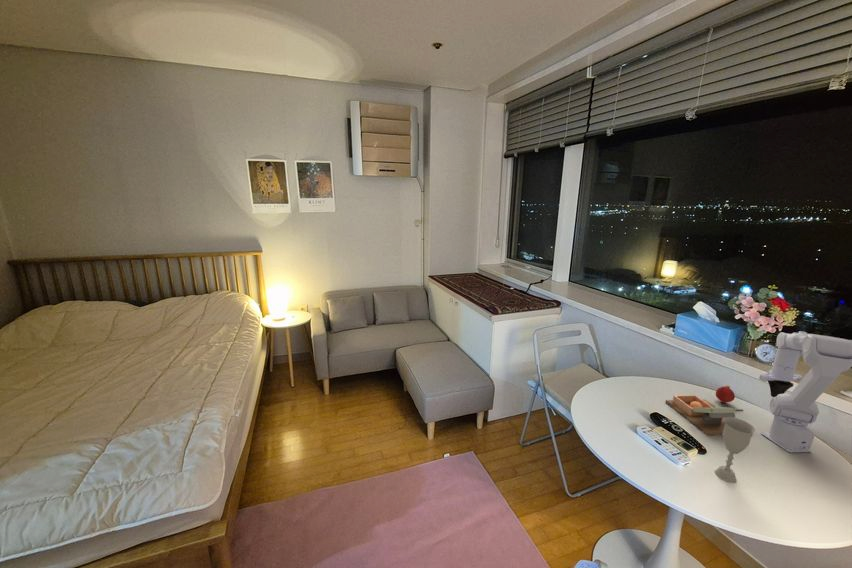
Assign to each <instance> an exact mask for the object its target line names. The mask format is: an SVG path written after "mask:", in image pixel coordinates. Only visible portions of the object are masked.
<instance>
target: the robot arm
mask: <svg viewBox="0 0 852 568" xmlns="http://www.w3.org/2000/svg"><path fill="white" fill-rule="evenodd" d="M776 347H777V349H776V353H775V356H774V359H773V363H772V366H771V367H772V368H771V369H770V370H768V372H767V373H762V374H760V375H759V380H760V381H762V382H764V383H765V382H766V383H768V386H769V389H770V396H771V397H772V398H771V399H770V402H769V412H770V413H771V414H772V415H773V418H772V422H771V425H770V429H769V431H766V432H765V431H763V432H761V433H760V434H761V435H762V436H763V437H765V438H767V439H769V440H770V441H771V442H773V443H775V444H776V445H777V446H779V447H780V448H781V449H783V450H785V451H786V452H788V453H812V449H811V448H812V444H813V441H814V439H815V433H814V432H813V430H811V429H810V428H808V426H809V424H811V425H812V424H813V423H815V422H816V421H817V418H818V415H819V414H820V412H819V411H820V410H819V407H818V404H817V402H816V400H818V398H820V396H821V395H822V394H824V392H825V391H826V390H827V389H828V388H829V387H830V386H831V385H832V384H833V383H834V382H835V381H836V379H837V378H838V377H839V376H840V374H841V373H843V372H847V371H849V370H850V369H851V368H852V339H846V338H840V337H835V336H829V335H821V334H815V333H808V332H806V331H803V330H801V331H798V332H792V333H786V332H782V331H781V332H779V333H778V334H777V336H776ZM800 357H802V358H803V359H802V360H803V363H804V364H805V365H806V366H808V367H809V368H810V370H809V371H808V372H807V373H806V374H805V375H804V376H803V375H800V374H798V373H795V372H796V371H797V370H796V369H797V366H798V364H799V363H798V362H799V359H800ZM794 381H798V382H799V383H798V384H797V385H796V386H795V388H793V390H792V391H791V393H786V392H787V391H788V390H789V389H791V388H792V387H794V383H793V382H794Z"/></svg>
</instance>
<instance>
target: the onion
mask: <svg viewBox="0 0 852 568" xmlns="http://www.w3.org/2000/svg"><path fill="white" fill-rule="evenodd" d="M735 395H736V394H735V392H734V391H733V390H732V389H731V386H730V385H725V386H720V387H717V389H716V391H715V396H716V398H717V399H718V400H719V401H720V402H721V403H723V404H726V403H731V402H733V401H734V400H735V398H736V396H735Z"/></svg>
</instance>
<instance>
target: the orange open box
mask: <svg viewBox="0 0 852 568" xmlns="http://www.w3.org/2000/svg"><path fill="white" fill-rule="evenodd" d="M672 400H673V403H674V404H675V405H676V406H678V407H679V408H680V409H682V410H683V411H684V412H686V413H687V414H688V415H689V416H703V414H704V413H703V412H694V411H693V408H691V407H690V406H689V405H687V404H686V403H691V402H694V401H696V402H699V403H700V404H701V405H702V406H703V408H713V407H712V406H710V405H709V404H707V403H706V402H704V401H703V400H702V399H701V398H700V397H698V396H697V395H696V394H691V395H690V394H683V395H681V394H679V395H677V394H676V395H673V398H672Z"/></svg>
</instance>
